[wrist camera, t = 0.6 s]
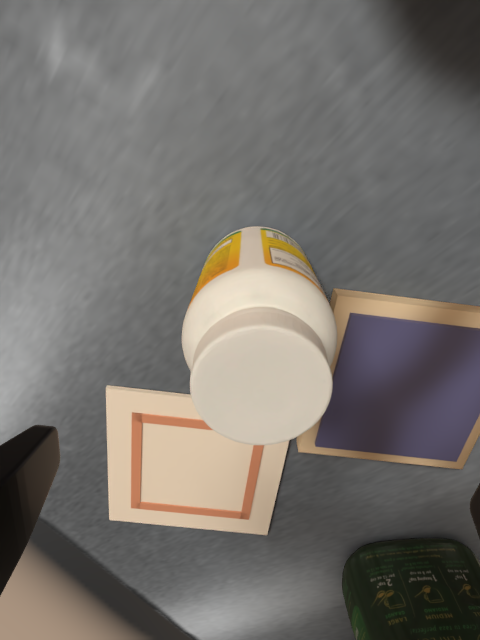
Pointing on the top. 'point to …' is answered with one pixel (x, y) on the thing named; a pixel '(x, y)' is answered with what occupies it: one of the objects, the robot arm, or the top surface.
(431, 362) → the ink pad
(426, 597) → the coffee jar
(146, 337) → the top surface
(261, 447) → the print card
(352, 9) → the top surface
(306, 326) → the supplement bottle
